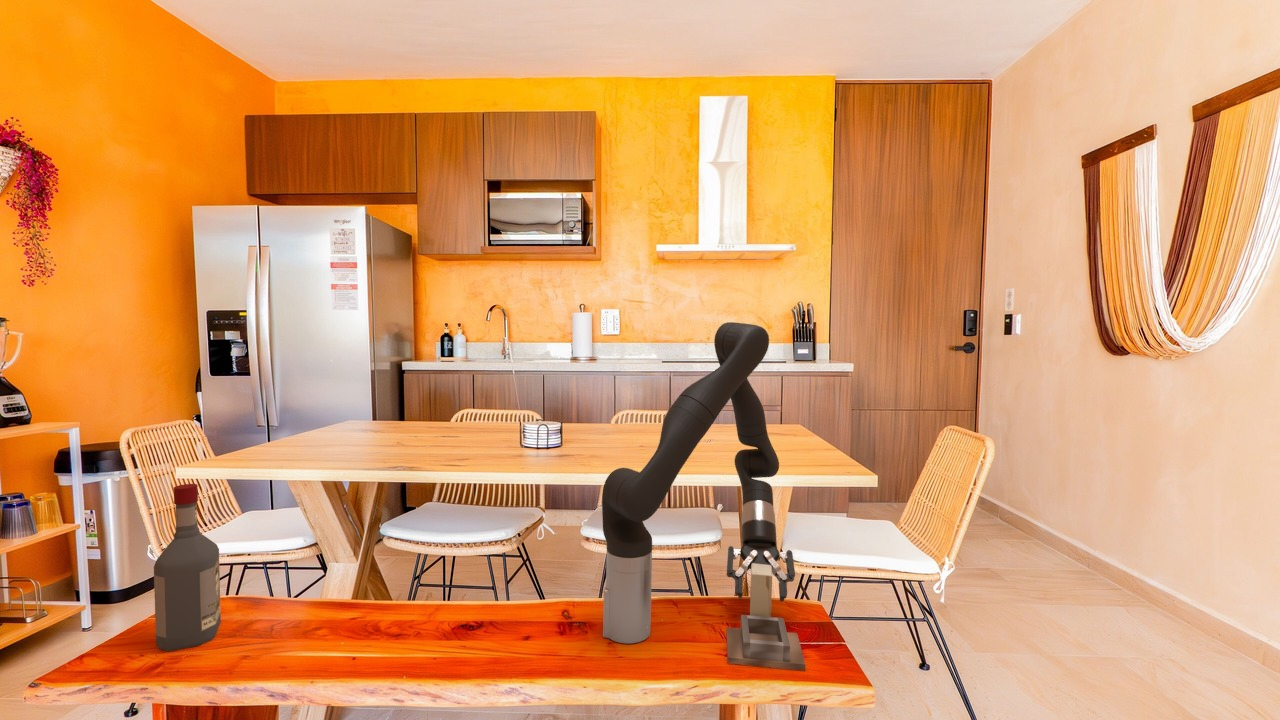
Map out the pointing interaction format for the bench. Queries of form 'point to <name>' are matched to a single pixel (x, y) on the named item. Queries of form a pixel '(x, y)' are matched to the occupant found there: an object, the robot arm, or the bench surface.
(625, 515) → the robot arm
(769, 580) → the skincare box
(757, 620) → the serum holder
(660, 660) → the bench surface
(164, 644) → the liquor
